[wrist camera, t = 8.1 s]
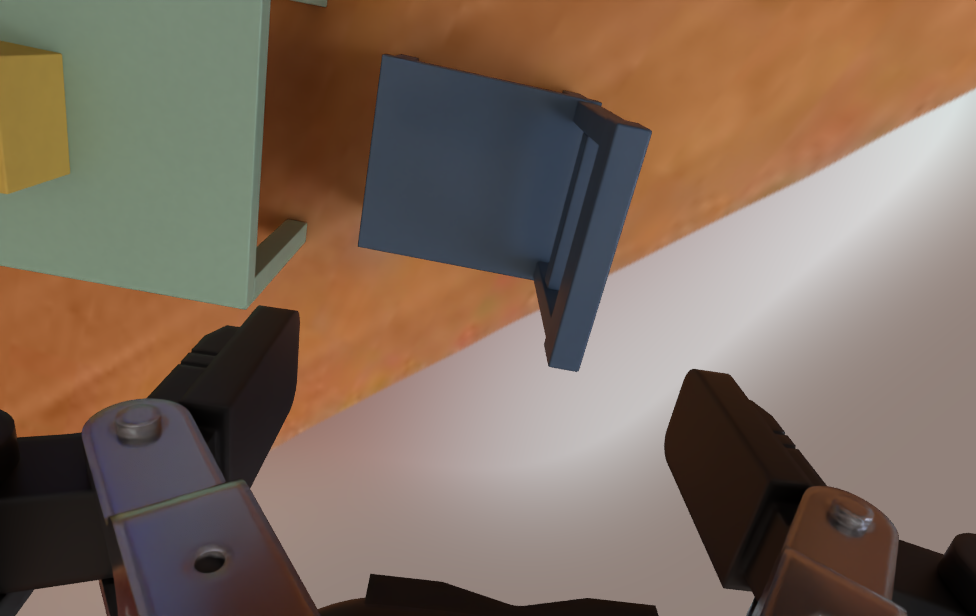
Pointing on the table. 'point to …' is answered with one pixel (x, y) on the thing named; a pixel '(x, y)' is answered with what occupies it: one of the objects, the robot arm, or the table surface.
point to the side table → (152, 149)
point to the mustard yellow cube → (31, 117)
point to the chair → (502, 186)
